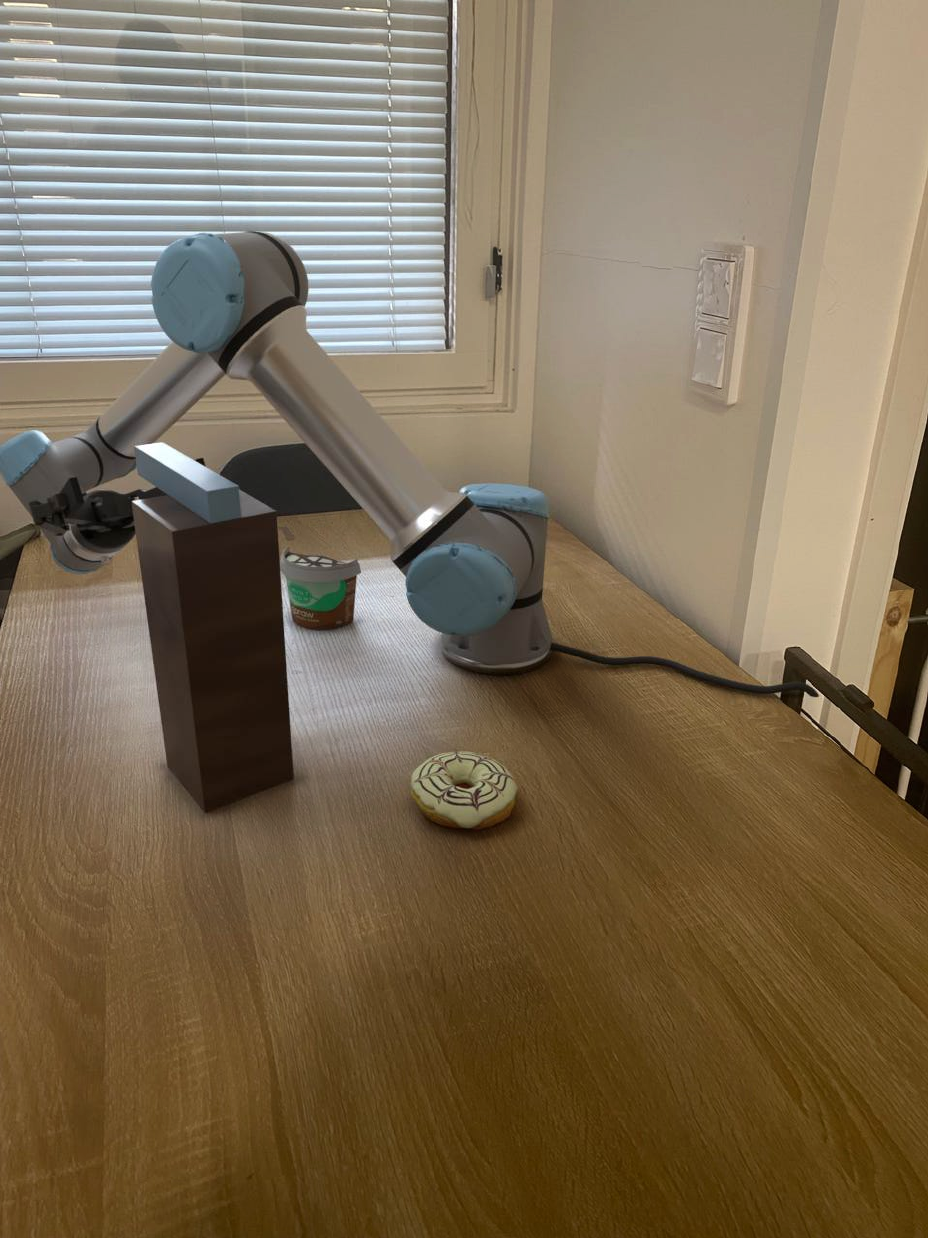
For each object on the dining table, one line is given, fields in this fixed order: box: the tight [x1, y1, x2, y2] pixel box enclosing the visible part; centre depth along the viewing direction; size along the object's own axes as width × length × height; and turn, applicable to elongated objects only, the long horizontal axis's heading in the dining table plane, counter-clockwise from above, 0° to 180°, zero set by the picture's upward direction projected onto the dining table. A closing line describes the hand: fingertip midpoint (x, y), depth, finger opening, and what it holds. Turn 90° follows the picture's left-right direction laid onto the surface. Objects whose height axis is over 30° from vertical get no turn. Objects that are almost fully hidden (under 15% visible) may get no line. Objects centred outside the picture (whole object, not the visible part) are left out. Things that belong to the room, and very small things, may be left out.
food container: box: [280, 545, 362, 631], centre depth 129 cm, size 12×6×10 cm, turn 68°
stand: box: [131, 489, 295, 813], centre depth 91 cm, size 10×10×30 cm
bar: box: [134, 441, 241, 524], centre depth 87 cm, size 18×3×3 cm, turn 38°
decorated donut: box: [410, 750, 519, 831], centre depth 93 cm, size 10×11×4 cm
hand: (142, 479), depth 97 cm, fingers open, 13 cm apart
